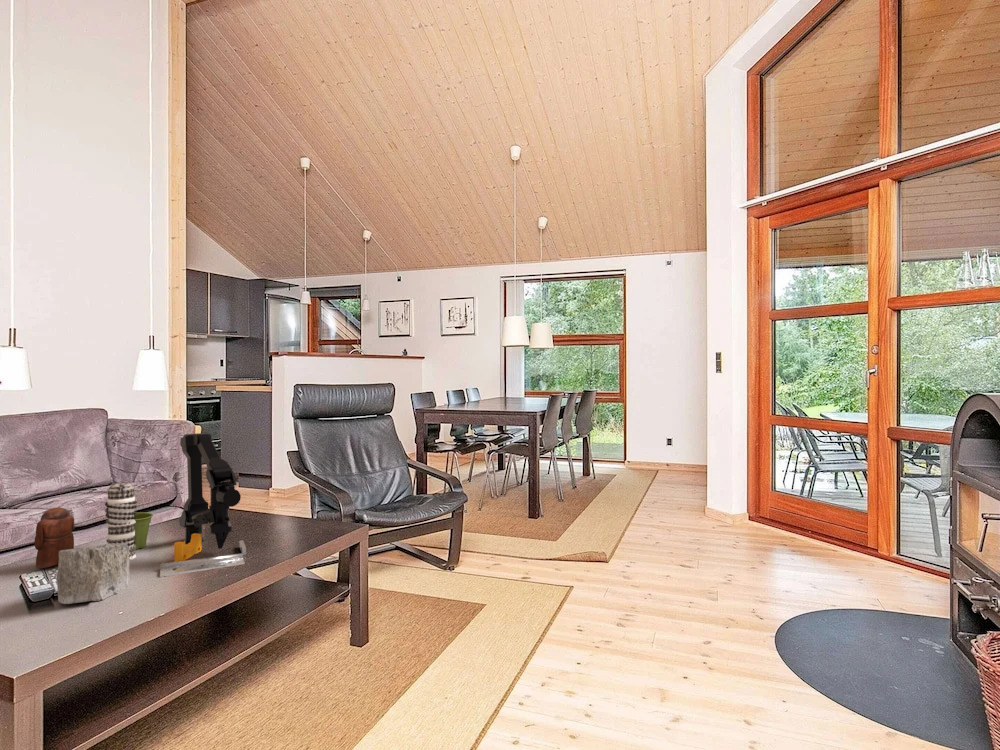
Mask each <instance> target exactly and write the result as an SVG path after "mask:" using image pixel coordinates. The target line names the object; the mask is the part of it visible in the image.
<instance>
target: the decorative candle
mask: <svg viewBox="0 0 1000 750" xmlns="http://www.w3.org/2000/svg"><path fill="white" fill-rule="evenodd" d="M135 488H136V487H135V486H133V485H132V484H131V483H130V482H119V483H113V484H111V485H110V486H109V488H107V489H106V491H107V499H106V502H104V506H105V507H106V508H105V517H106V519H105V523H106V527H107V532H108V533H107V538H106V540H105V541H106V543H107V544H110V545H118V544H127V545H128V549H129V561H131V560H134V559H135V558H136V557H137V555H136V554H137V549H136V546H135V545H134V544H135V543H136V541H135V540H134V539H135V538H136V536H135V530H134V523H136V521H135V520H134V519H135V518H136V516H134V515H135V514H136V513H137V511H136V510H135V509H136V508H138V505H136V504H137V503H138V502H137V500H136V496H135ZM135 549H136V550H135Z"/></svg>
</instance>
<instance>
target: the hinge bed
mask: <svg viewBox="0 0 1000 750" xmlns="http://www.w3.org/2000/svg"><path fill="white" fill-rule="evenodd" d="M238 547H239V551H240V553H235V554H225V555H218V556H212V557H211V556H210V557H202V558H201V557H200V558H194V559H186V560H184V561H178V562H174V561H171V562H164V563H163V562H162V563H160V569H159V570H160V571H159V572H160V573H159V577H160V578H163V577H164V576H165V577H171V576H172V577H173V576H178V574H179V575H185V574H191V573H196V572H197V571H198V572H203V571H208V570H217V569H221V568H228V567H236V566H240V565H246V564H245V563H246V562H245V560H244V556H247V547H246V544H245V542H244V540H243V539H242V540H239V545H238Z"/></svg>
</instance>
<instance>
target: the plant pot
mask: <svg viewBox="0 0 1000 750" xmlns="http://www.w3.org/2000/svg"><path fill="white" fill-rule="evenodd" d="M134 516H136V518H135V519H134V520H135V521H136V523H134V530H135V536H136V538H135V539H134V540H135V541H136V543H135V544H134V545H135V546H136V549H135V550H136V551H137V550H138V549H140V548H141V549H143V548H144V547H146V545H147V539H148V535H149V528H150V523H151V521H152V517H153V516H154V513H152V512H136V514H135V515H134Z"/></svg>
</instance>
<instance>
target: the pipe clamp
mask: <svg viewBox="0 0 1000 750" xmlns="http://www.w3.org/2000/svg"><path fill="white" fill-rule="evenodd" d="M202 543H203V542H202V534H192V535H191V541H190V543H188V544H185V542H184V541H176V542H174V544H173V545H174V547H173V548H174V549H173V551H174V553H173V554H174V555H173V557H174V558H173V559H174V561H173V562H178V561H185V560H189V558H191V557H193V556H195V555H197V554H198V553H200V552H202V551H201V550H203V547H202ZM194 554H195V555H194Z"/></svg>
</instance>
